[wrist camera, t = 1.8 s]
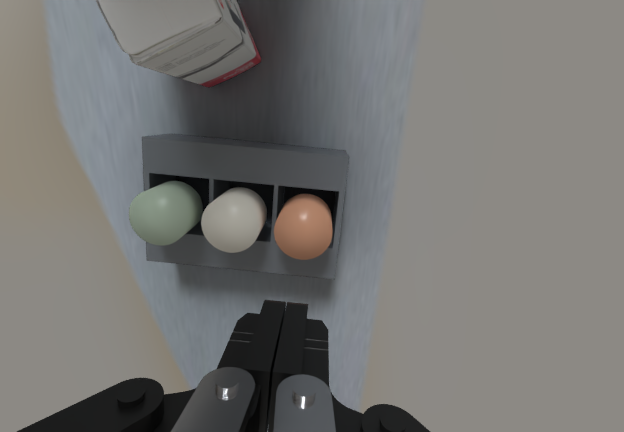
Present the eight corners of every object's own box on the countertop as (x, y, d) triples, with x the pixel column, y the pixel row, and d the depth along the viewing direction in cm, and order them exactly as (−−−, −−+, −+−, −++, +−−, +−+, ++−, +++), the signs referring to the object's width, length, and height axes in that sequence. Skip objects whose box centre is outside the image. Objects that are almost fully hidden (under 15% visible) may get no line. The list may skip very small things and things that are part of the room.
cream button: (216, 184, 24) (201, 194, 21) (268, 189, 24) (260, 199, 21) (215, 234, 25) (201, 249, 22) (265, 239, 25) (257, 255, 22)
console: (169, 133, 28) (141, 136, 24) (345, 150, 28) (349, 157, 24) (171, 239, 31) (146, 260, 26) (333, 256, 31) (334, 279, 26)
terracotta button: (281, 191, 24) (275, 201, 21) (334, 196, 24) (335, 207, 21) (278, 240, 25) (272, 256, 22) (328, 245, 25) (329, 262, 22)
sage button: (150, 178, 24) (127, 186, 21) (203, 183, 24) (186, 192, 21) (152, 228, 25) (130, 242, 22) (202, 233, 25) (187, 248, 22)
